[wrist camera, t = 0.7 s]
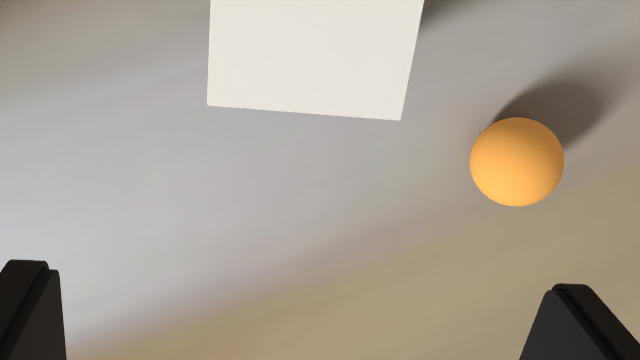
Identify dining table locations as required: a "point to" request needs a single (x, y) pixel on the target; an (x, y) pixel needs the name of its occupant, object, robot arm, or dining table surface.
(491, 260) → the dining table surface
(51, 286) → the robot arm
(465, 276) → the dining table surface
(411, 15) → the off-white matte cube
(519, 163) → the ball
